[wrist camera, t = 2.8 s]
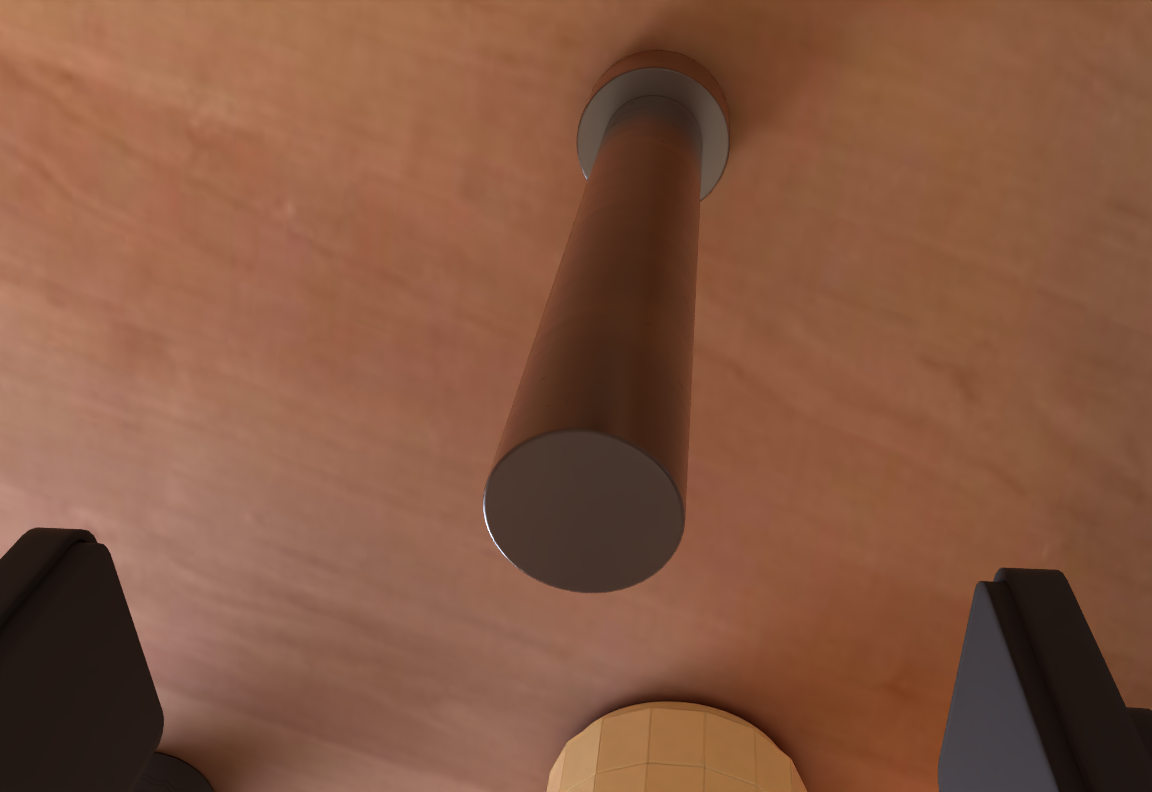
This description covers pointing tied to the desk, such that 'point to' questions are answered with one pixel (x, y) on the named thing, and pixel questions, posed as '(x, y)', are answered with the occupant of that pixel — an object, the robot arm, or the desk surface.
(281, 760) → the desk surface
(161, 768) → the drinking cup
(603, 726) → the bowl
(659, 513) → the stirrer
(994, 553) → the desk surface
